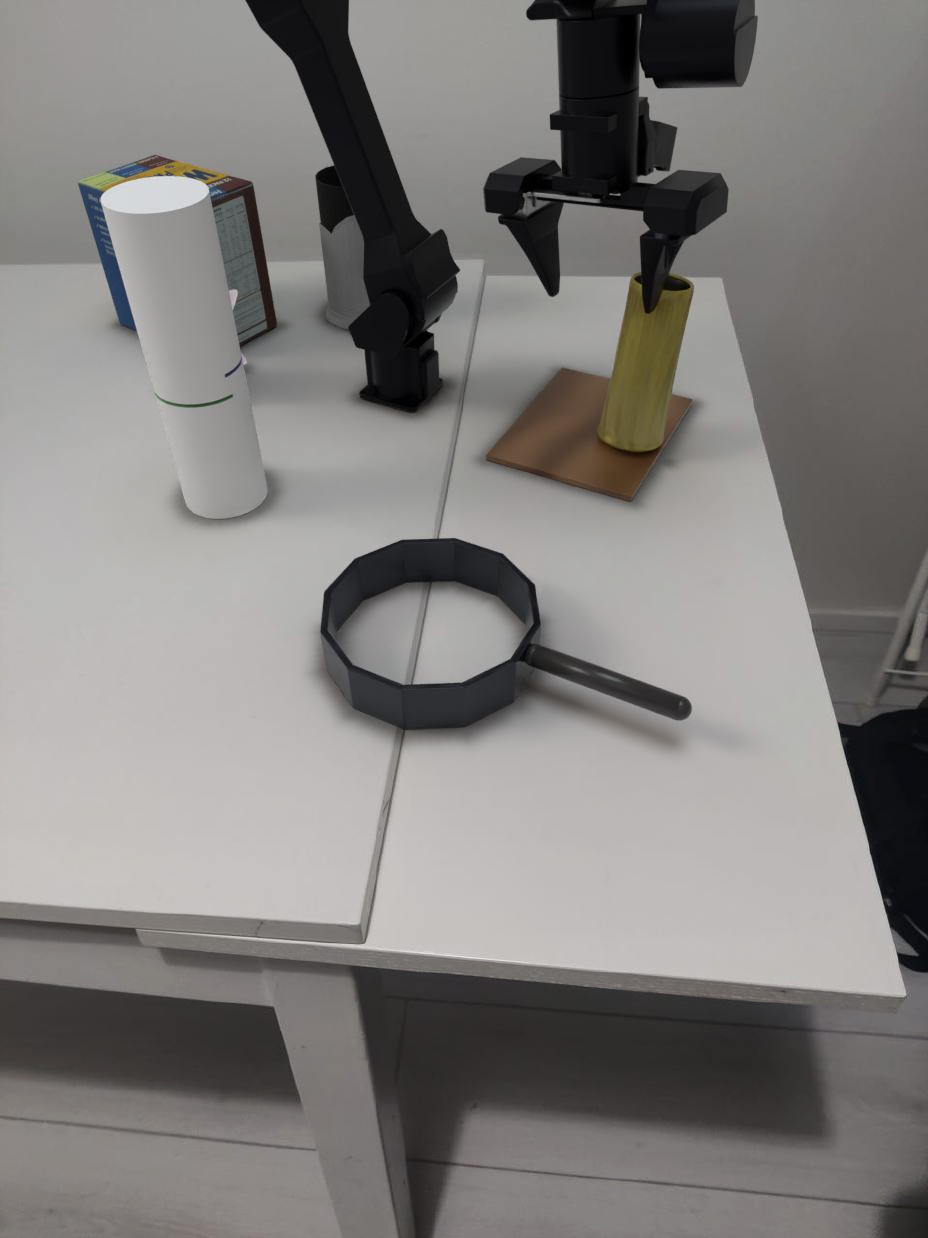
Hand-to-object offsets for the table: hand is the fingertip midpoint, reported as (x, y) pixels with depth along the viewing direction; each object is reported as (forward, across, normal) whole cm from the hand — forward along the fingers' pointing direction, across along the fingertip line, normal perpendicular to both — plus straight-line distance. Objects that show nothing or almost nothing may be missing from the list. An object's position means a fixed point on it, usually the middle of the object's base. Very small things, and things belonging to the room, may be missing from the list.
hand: (600, 303), depth 73 cm
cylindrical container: (+11, +22, +26) cm, 36 cm away
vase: (+13, -2, -1) cm, 13 cm away
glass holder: (+9, +38, -8) cm, 40 cm away
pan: (+14, -9, +29) cm, 33 cm away
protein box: (+8, +49, +7) cm, 50 cm away
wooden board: (+13, +2, -2) cm, 14 cm away
